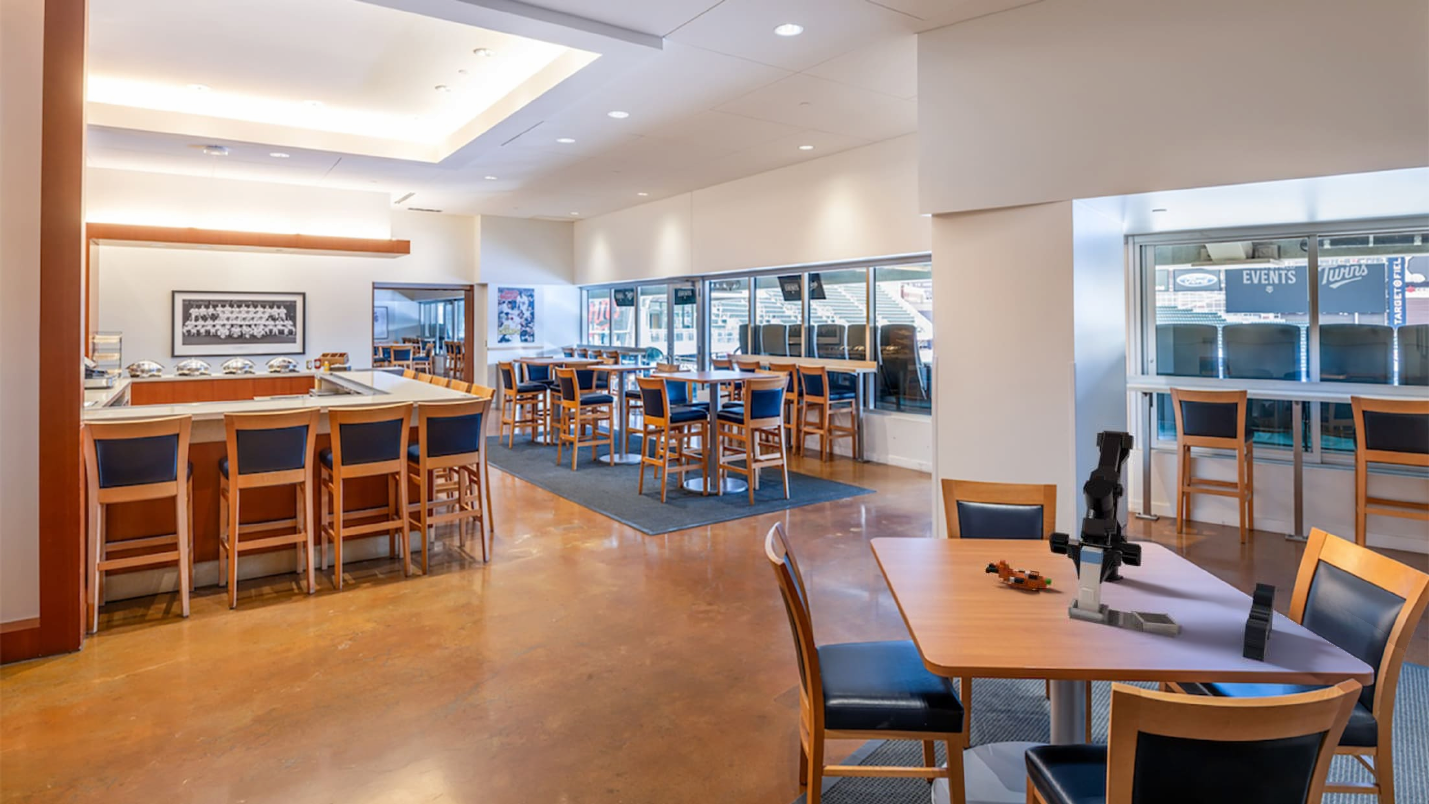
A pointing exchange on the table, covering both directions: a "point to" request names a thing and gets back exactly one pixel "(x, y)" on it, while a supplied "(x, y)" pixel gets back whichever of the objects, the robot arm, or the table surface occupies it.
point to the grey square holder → (1088, 612)
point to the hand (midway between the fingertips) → (1089, 580)
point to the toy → (1018, 576)
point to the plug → (1090, 579)
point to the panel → (1123, 622)
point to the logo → (1259, 622)
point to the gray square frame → (1157, 627)
